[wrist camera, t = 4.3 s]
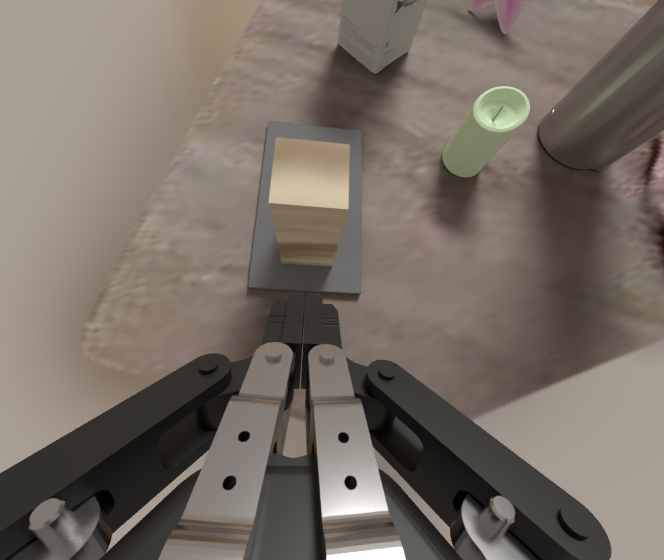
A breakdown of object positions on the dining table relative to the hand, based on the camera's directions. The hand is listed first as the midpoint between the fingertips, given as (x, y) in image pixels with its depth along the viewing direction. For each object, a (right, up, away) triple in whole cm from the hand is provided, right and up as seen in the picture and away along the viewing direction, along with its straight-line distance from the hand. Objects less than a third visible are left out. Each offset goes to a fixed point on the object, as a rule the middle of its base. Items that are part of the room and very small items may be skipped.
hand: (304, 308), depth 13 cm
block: (-1, +5, +16) cm, 17 cm away
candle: (+17, +16, +22) cm, 32 cm away
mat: (-1, +10, +18) cm, 21 cm away
